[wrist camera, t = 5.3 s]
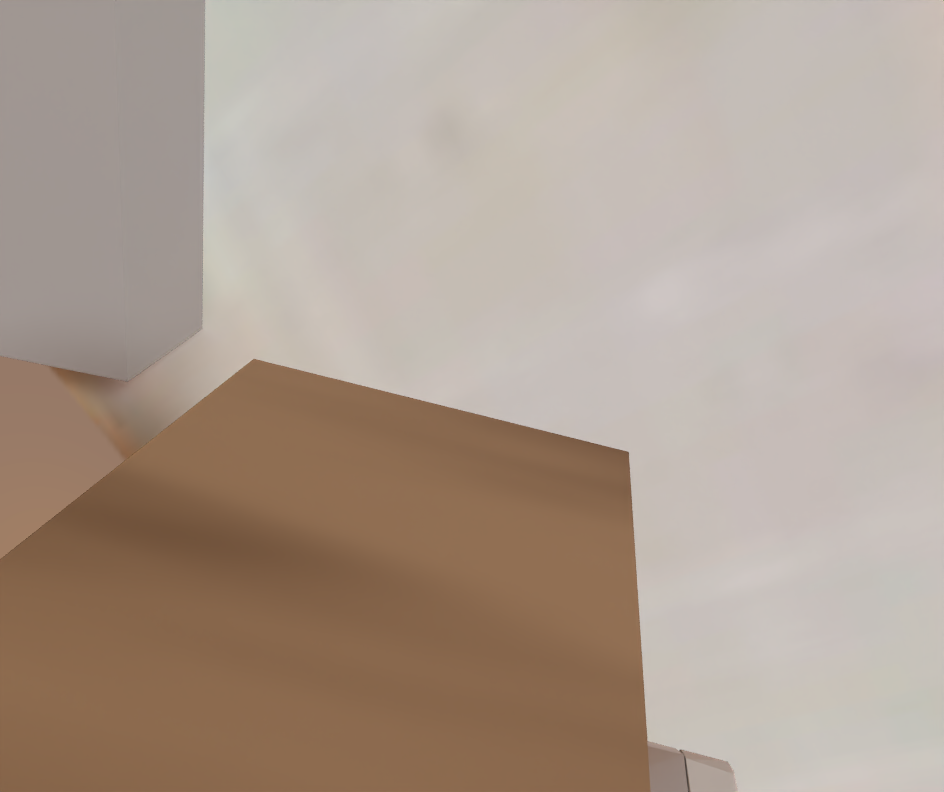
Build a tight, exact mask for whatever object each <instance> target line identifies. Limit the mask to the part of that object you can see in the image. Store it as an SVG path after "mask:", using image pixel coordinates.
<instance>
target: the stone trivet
mask: <svg viewBox="0 0 944 792" xmlns="http://www.w3.org/2000/svg"><path fill="white" fill-rule="evenodd" d="M204 71H205V0H0V356H2V357H7V358H13V359H17V360H22V361H27V362H32V363H37V364H42V365H47V366H52V367H57V368H62V369H67V370H72V371H77V372H82V373H87V374H92V375H97V376H101V377H106V378H111V379H116V380H121V381H126V382H128V381H129V380H131V379H132V378H134V377H135V376H137V375H138V374H139V373H141V372H142V371H144V370H145V369H146V368H148V367H149V366H151V365H152V364H153V363H155V362H156V361H158V360H159V359H161V358H162V357H163V356H165V355H166V354H168V353H169V352H170V351H172V350H173V349H175V348H176V347H177V346H179V345H180V344H182V343H183V342H184V341H186V340H187V339H189V338H190V337H192V336H193V335H194V334H196V333H197V332H199V331H200V330H201V329H202V294H203V182H204Z"/></svg>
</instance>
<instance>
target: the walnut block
mask: <svg viewBox="0 0 944 792" xmlns="http://www.w3.org/2000/svg"><path fill="white" fill-rule="evenodd" d="M0 792H651V790H650V775H649V759H648V744H647V728H646V713H645V698H644V682H643V667H642V651H641V636H640V621H639V605H638V590H637V574H636V559H635V543H634V528H633V513H632V497H631V482H630V466H629V452H626V451H622V450H618V449H614V448H610V447H606V446H602V445H598V444H594V443H590V442H586V441H582V440H578V439H574V438H570V437H566V436H562V435H558V434H554V433H550V432H546V431H542V430H538V429H534V428H530V427H526V426H522V425H518V424H514V423H510V422H506V421H502V420H498V419H494V418H490V417H486V416H481V415H477V414H473V413H469V412H465V411H461V410H457V409H453V408H449V407H445V406H441V405H437V404H433V403H429V402H425V401H421V400H417V399H413V398H409V397H405V396H401V395H397V394H393V393H389V392H385V391H381V390H377V389H373V388H369V387H365V386H361V385H357V384H353V383H349V382H345V381H341V380H337V379H332V378H328V377H324V376H320V375H316V374H312V373H308V372H304V371H300V370H296V369H292V368H288V367H284V366H280V365H276V364H272V363H268V362H264V361H260V360H256V359H253V360H252V361H251V362H249V363H248V364H247V365H246V366H244V367H243V368H242V369H240V370H239V371H238V372H237V373H235V374H234V375H233V376H232V377H230V378H229V379H228V380H227V381H225V382H224V383H223V384H221V385H220V386H219V387H218V388H216V389H215V390H214V391H213V392H211V393H210V394H209V395H208V396H206V397H205V398H204V399H202V400H201V401H200V402H199V403H197V404H196V405H195V406H194V407H192V408H191V409H190V410H189V411H187V412H186V413H185V414H183V415H182V416H181V417H180V418H178V419H177V420H176V421H175V422H173V423H172V424H171V425H170V426H168V427H167V428H166V429H165V430H163V431H162V432H161V433H159V434H158V435H157V436H156V437H154V438H153V439H152V440H151V441H149V442H148V443H147V444H146V445H144V446H143V447H142V448H140V449H139V450H138V451H137V452H135V453H134V454H133V455H132V456H130V457H129V458H128V459H127V460H125V461H124V462H123V463H121V464H120V465H119V466H118V467H116V468H115V469H114V470H113V471H111V472H110V473H109V474H108V475H106V476H105V477H104V478H103V479H101V480H100V481H99V482H97V483H96V484H95V485H94V486H92V487H91V488H90V489H89V490H87V491H86V492H85V493H83V494H82V495H81V496H80V497H78V498H77V499H76V500H75V501H73V502H72V503H71V504H70V505H68V506H67V507H66V508H65V509H63V510H62V511H61V512H59V513H58V514H57V515H56V516H54V517H53V518H52V519H51V520H49V521H48V522H47V523H46V524H44V525H43V526H42V527H40V528H39V529H38V530H37V531H36V532H34V533H33V534H32V535H30V536H29V537H28V538H27V539H25V540H24V541H23V542H22V543H20V544H19V545H18V546H16V547H15V548H14V549H13V550H11V551H10V552H9V553H8V554H6V555H5V556H4V557H3V558H1V559H0Z"/></svg>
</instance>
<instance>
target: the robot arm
mask: <svg viewBox="0 0 944 792" xmlns="http://www.w3.org/2000/svg"><path fill="white" fill-rule="evenodd" d="M647 744H648V759H649V775H650V790H651V792H738V790H737V784H736V779H735V774H734V770H733V769H732V767H731V766H730V764H729V763H728V762H726V761H723V760H719V759H715V758H711V757H707V756H704V755H700V754H696V753H692V752H688V751H684V750H680V751H678V750H677V749H676V748H672V747H668V746H664V745H661V744H657V743H653V742H649V741H647Z"/></svg>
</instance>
